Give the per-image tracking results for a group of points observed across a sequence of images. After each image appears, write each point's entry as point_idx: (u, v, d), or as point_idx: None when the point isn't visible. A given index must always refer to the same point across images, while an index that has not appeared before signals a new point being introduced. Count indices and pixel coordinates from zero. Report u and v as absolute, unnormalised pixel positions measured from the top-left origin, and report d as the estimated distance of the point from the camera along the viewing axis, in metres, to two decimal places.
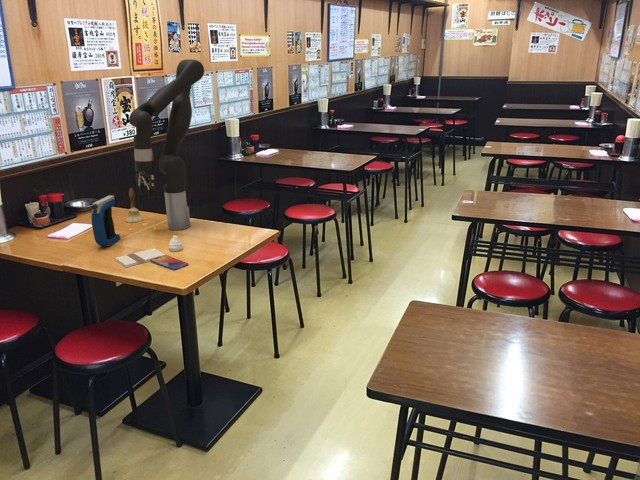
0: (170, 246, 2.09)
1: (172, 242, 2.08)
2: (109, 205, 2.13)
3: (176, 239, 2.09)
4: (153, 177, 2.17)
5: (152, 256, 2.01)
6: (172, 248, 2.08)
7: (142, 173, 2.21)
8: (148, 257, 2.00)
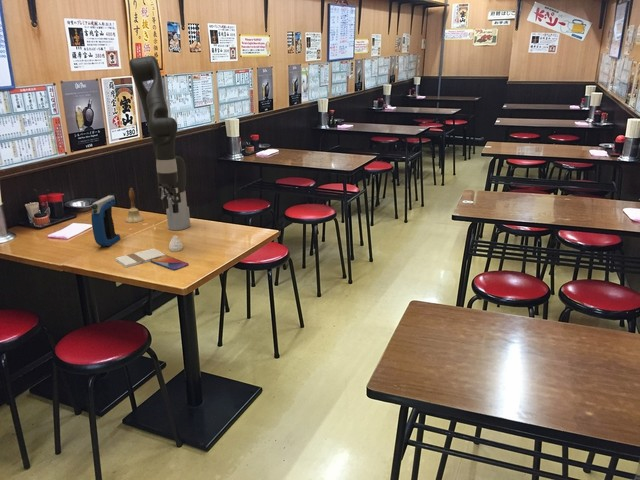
0: (170, 246, 2.09)
1: (172, 242, 2.09)
2: (109, 205, 2.13)
3: (176, 239, 2.09)
4: (177, 190, 1.98)
5: (152, 256, 2.01)
6: (172, 248, 2.08)
7: (165, 186, 2.02)
8: (148, 257, 2.00)
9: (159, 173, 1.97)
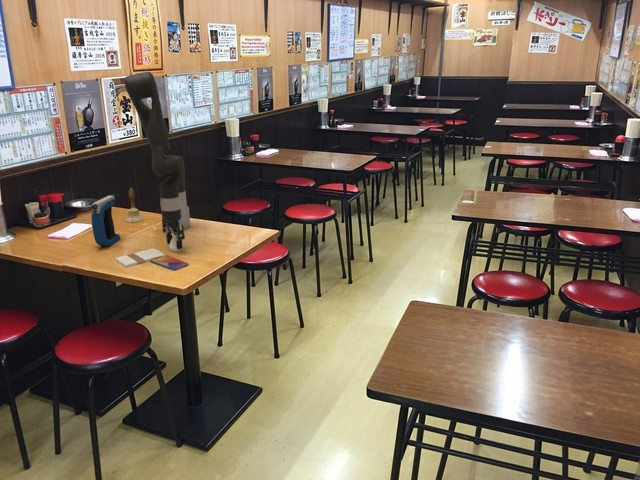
0: (170, 246, 2.09)
1: (172, 241, 2.09)
2: (109, 205, 2.13)
3: None
4: (181, 227, 2.03)
5: (152, 256, 2.01)
6: (172, 248, 2.08)
7: (169, 222, 2.06)
8: (148, 257, 2.00)
9: (163, 211, 2.02)
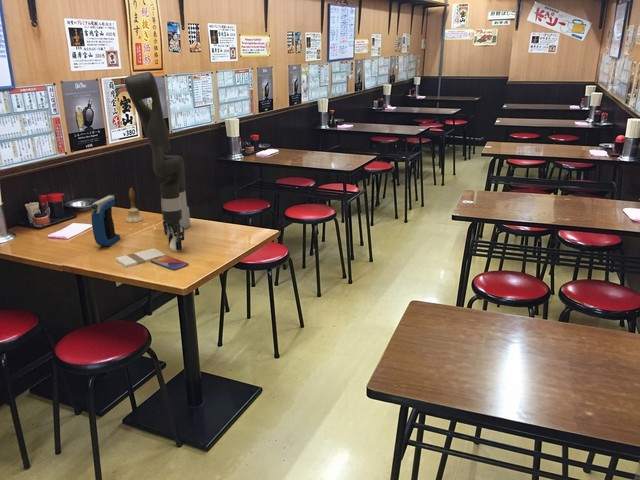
0: (171, 246, 2.09)
1: (173, 241, 2.09)
2: (109, 205, 2.13)
3: None
4: (182, 230, 2.03)
5: (152, 256, 2.01)
6: (173, 248, 2.08)
7: (170, 223, 2.07)
8: (148, 257, 2.00)
9: (164, 211, 2.03)
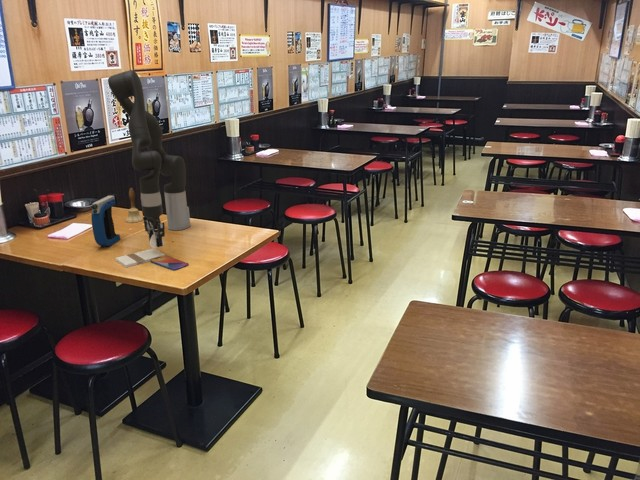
0: (151, 242, 2.02)
1: (153, 238, 2.02)
2: (109, 205, 2.13)
3: None
4: (162, 226, 1.97)
5: (152, 256, 2.01)
6: (153, 244, 2.02)
7: (150, 218, 2.00)
8: (148, 257, 2.00)
9: (143, 206, 1.96)
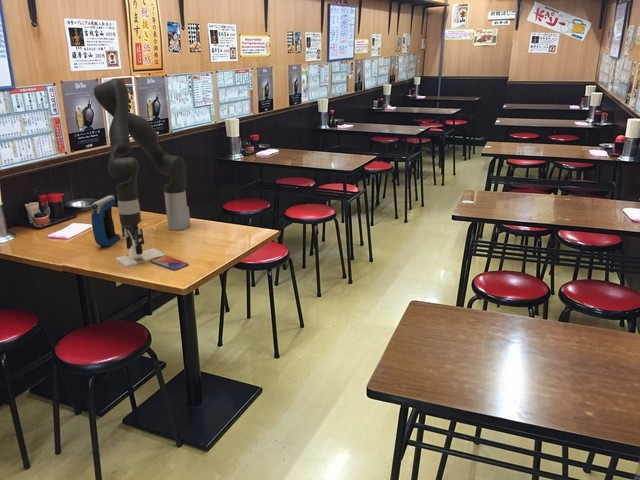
0: (130, 253, 1.98)
1: (132, 249, 1.97)
2: (109, 205, 2.13)
3: None
4: (140, 232, 1.91)
5: (152, 256, 2.01)
6: (132, 256, 1.97)
7: (128, 226, 1.95)
8: (148, 257, 2.00)
9: (121, 214, 1.91)
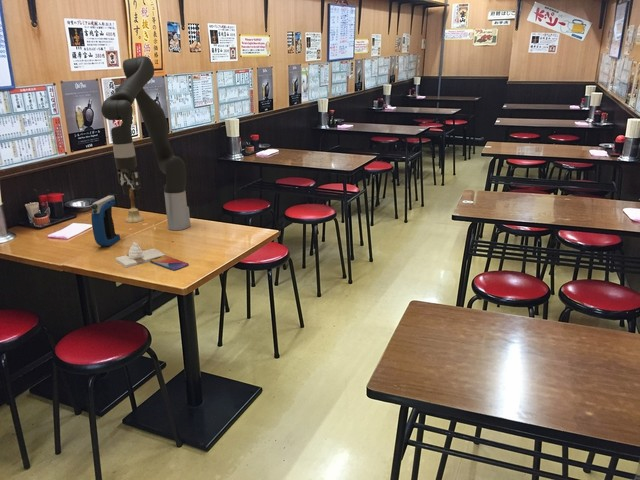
0: (130, 253, 1.98)
1: (132, 249, 1.98)
2: (109, 205, 2.13)
3: (136, 246, 1.98)
4: (137, 175, 1.92)
5: (152, 256, 2.01)
6: (132, 256, 1.97)
7: (124, 171, 1.95)
8: (148, 257, 2.00)
9: (117, 158, 1.91)
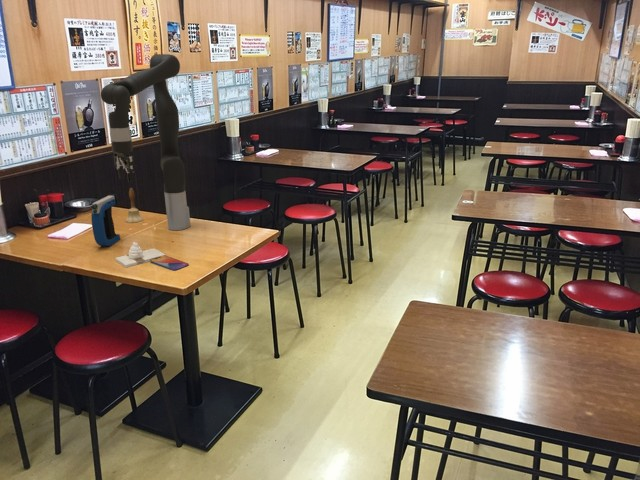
0: (130, 253, 1.98)
1: (132, 249, 1.98)
2: (109, 205, 2.13)
3: (136, 246, 1.98)
4: (132, 159, 1.97)
5: (152, 256, 2.01)
6: (132, 256, 1.97)
7: (120, 155, 2.01)
8: (148, 257, 2.00)
9: (113, 142, 1.96)
